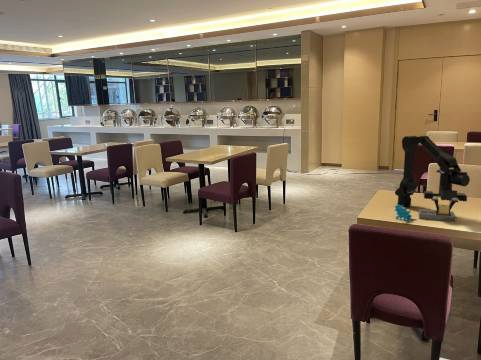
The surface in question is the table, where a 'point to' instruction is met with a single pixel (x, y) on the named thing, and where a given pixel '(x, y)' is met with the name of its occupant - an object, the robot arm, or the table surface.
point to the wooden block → (443, 209)
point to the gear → (403, 213)
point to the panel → (435, 215)
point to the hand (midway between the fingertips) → (443, 212)
